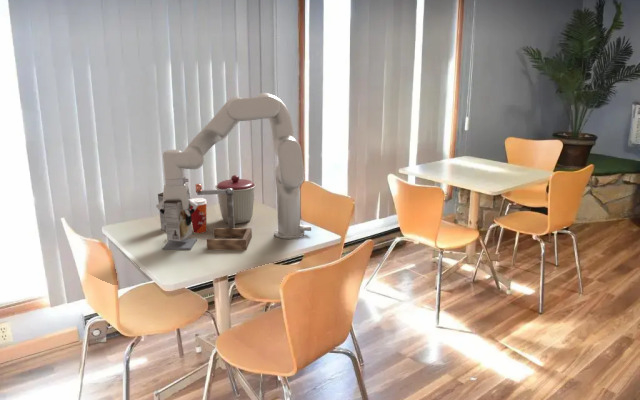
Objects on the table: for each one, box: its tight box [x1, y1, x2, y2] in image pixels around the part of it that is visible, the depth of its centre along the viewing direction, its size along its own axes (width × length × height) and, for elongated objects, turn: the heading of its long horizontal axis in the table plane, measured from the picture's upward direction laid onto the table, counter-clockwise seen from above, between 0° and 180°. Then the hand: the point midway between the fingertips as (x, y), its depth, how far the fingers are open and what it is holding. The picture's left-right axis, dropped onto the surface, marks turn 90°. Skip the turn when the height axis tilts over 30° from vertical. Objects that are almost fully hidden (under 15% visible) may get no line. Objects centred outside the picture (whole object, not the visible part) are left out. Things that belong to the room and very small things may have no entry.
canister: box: [215, 174, 257, 224], centre depth 257 cm, size 18×18×21 cm
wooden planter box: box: [206, 194, 253, 251], centre depth 230 cm, size 16×18×18 cm
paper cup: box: [190, 197, 208, 234], centre depth 243 cm, size 8×8×14 cm
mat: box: [162, 237, 198, 251], centre depth 229 cm, size 11×11×1 cm
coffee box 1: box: [157, 192, 166, 231], centre depth 248 cm, size 9×6×16 cm
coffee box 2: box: [164, 201, 193, 241], centre depth 226 cm, size 9×6×16 cm
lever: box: [195, 183, 233, 196], centre depth 233 cm, size 15×3×4 cm, turn 96°
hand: (178, 224), depth 227 cm, fingers closed on coffee box 2, 7 cm apart
